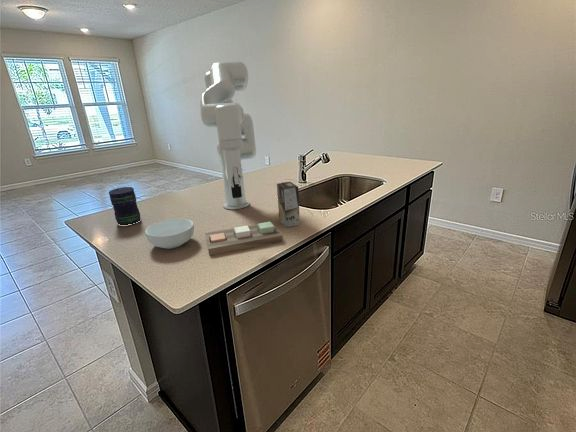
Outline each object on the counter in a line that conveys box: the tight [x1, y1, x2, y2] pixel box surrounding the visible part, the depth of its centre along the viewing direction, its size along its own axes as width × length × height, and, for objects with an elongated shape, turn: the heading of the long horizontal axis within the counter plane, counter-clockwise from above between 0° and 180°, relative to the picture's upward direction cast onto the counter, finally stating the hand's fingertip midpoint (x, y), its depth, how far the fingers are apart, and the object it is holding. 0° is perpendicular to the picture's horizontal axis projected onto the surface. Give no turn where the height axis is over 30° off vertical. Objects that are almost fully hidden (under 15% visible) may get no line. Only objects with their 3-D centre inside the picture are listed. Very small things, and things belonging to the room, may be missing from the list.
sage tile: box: [257, 221, 274, 234], centre depth 117 cm, size 5×5×3 cm
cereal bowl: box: [144, 218, 195, 250], centre depth 115 cm, size 17×17×7 cm
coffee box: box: [276, 181, 301, 228], centre depth 126 cm, size 9×6×16 cm
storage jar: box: [108, 186, 142, 225], centre depth 136 cm, size 10×10×15 cm
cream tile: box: [233, 225, 251, 239], centre depth 114 cm, size 5×5×3 cm
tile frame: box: [204, 221, 283, 256], centre depth 115 cm, size 14×26×2 cm, turn 108°
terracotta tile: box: [210, 233, 226, 243], centre depth 112 cm, size 5×5×3 cm
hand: (237, 197), depth 109 cm, fingers closed
